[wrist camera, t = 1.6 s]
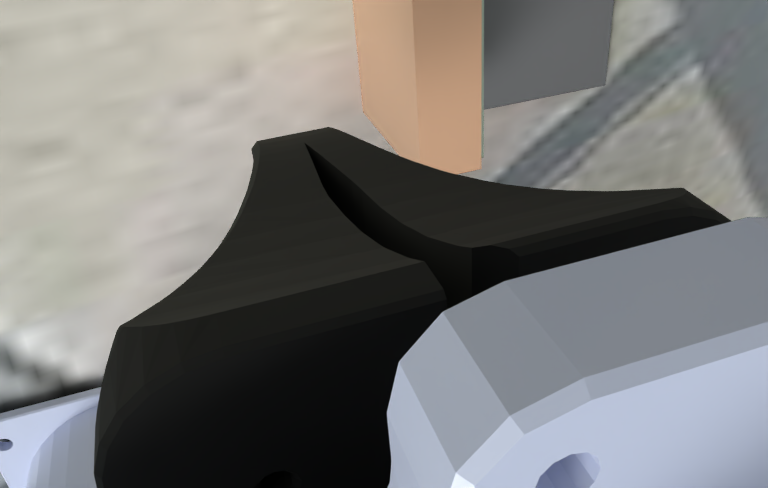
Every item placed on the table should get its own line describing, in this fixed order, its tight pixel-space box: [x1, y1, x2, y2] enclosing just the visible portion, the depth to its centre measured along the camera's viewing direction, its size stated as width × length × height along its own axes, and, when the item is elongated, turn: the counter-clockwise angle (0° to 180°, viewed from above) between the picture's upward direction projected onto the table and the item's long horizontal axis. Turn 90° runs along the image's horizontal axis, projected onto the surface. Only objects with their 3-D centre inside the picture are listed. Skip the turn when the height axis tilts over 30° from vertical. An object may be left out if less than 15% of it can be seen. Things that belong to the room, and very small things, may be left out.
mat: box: [484, 0, 614, 110], centre depth 21 cm, size 6×6×1 cm
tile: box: [353, 0, 484, 174], centre depth 18 cm, size 5×2×5 cm, turn 4°
